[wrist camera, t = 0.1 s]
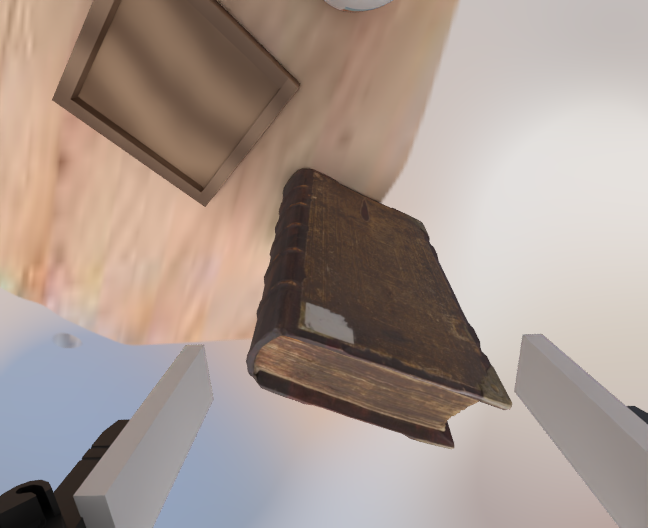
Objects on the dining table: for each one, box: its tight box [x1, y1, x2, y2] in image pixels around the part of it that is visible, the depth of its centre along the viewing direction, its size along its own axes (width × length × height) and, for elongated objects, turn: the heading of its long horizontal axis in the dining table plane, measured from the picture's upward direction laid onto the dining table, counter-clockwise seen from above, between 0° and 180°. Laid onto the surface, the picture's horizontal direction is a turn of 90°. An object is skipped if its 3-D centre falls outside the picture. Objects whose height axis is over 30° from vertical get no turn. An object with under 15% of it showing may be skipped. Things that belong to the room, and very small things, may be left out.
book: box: [246, 169, 512, 449], centre depth 31 cm, size 17×7×25 cm, turn 56°
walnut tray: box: [52, 0, 300, 207], centre depth 32 cm, size 16×16×2 cm
